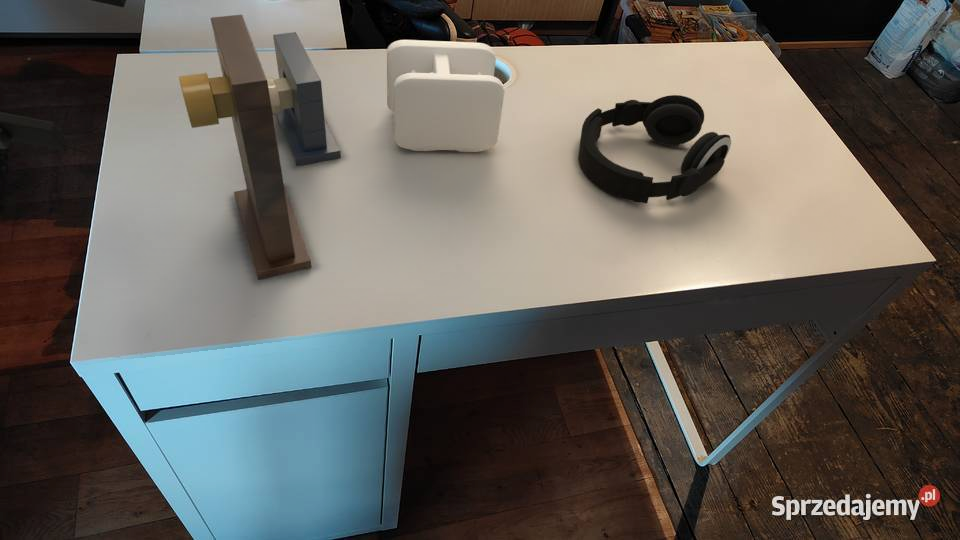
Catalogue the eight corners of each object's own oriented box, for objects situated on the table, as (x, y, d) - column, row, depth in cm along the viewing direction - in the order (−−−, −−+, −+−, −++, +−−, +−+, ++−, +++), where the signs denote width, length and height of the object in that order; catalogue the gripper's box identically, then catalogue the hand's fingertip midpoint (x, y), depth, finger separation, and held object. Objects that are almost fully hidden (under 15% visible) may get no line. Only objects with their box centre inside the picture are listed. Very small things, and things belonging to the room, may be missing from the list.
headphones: (760, 146, 86) (622, 183, 81) (742, 191, 92) (613, 227, 87) (687, 73, 97) (562, 103, 92) (675, 118, 103) (557, 147, 98)
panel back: (296, 166, 87) (286, 90, 78) (271, 106, 95) (259, 32, 86) (340, 157, 89) (335, 82, 80) (312, 100, 97) (305, 26, 88)
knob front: (194, 138, 63) (182, 94, 59) (187, 109, 66) (176, 66, 62) (264, 127, 65) (256, 84, 62) (254, 99, 68) (247, 57, 64)
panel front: (257, 280, 73) (215, 93, 56) (235, 198, 82) (192, 14, 64) (311, 267, 75) (287, 83, 58) (284, 189, 84) (255, 7, 66)
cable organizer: (387, 153, 90) (387, 78, 82) (387, 108, 97) (386, 35, 89) (495, 155, 93) (506, 82, 84) (487, 111, 99) (496, 39, 91)
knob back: (263, 124, 86) (258, 92, 82) (255, 103, 88) (249, 71, 85) (313, 115, 88) (310, 83, 84) (303, 95, 91) (300, 64, 87)
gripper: (-113, -88, 55) (153, -27, 58) (-272, 172, 46) (53, 228, 49) (-178, -174, 48) (128, -100, 51) (-381, 111, 39) (6, 181, 42)
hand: (92, 61), depth 50 cm, fingers open, 13 cm apart
